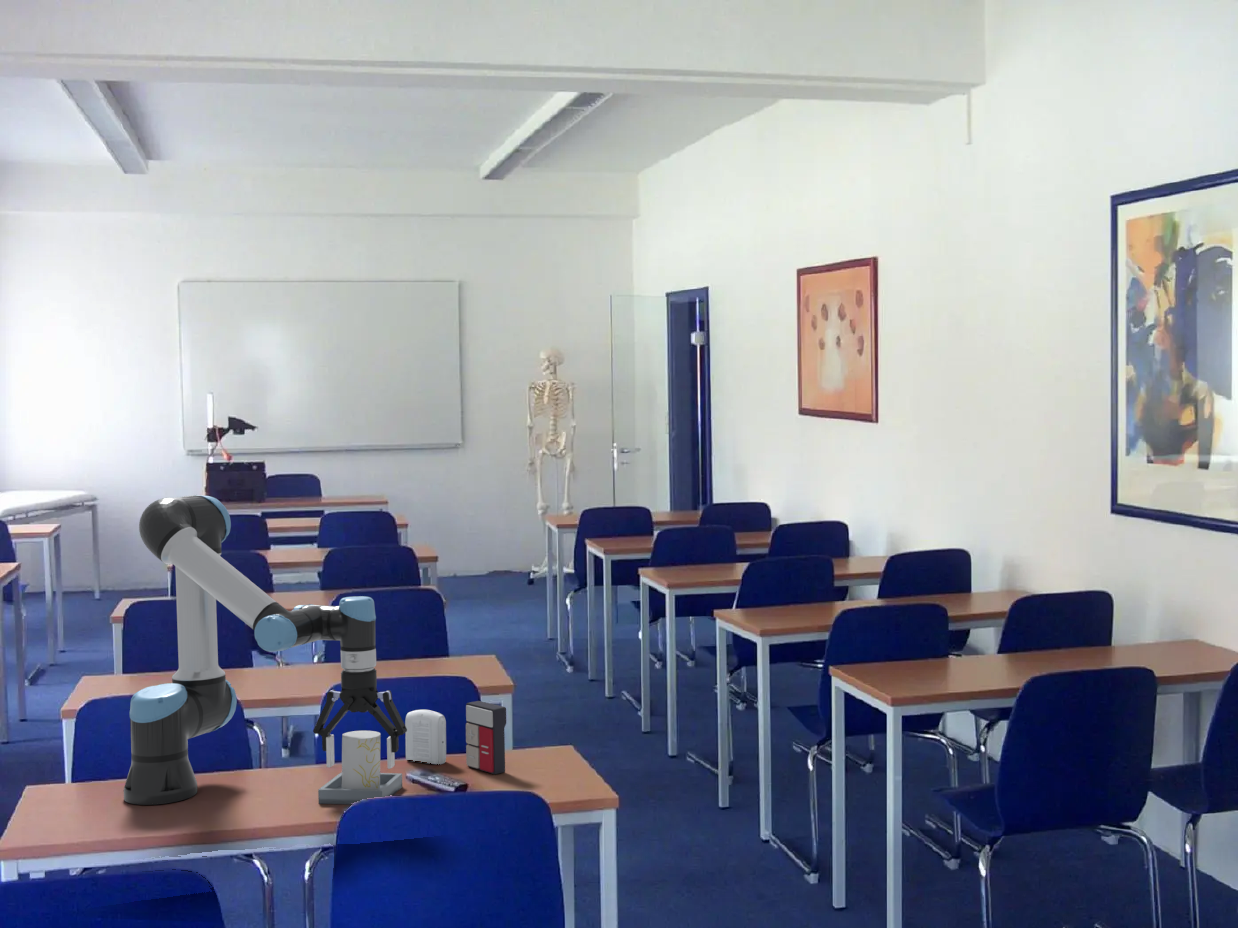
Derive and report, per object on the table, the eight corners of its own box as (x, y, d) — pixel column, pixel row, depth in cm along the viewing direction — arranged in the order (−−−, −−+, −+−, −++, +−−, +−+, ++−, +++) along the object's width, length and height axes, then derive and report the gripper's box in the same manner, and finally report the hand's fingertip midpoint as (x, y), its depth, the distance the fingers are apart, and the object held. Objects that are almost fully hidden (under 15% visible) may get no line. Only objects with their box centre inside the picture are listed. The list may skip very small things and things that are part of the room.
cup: (359, 796, 275) (359, 740, 275) (333, 790, 280) (334, 734, 280) (387, 789, 282) (388, 733, 282) (362, 783, 287) (363, 728, 287)
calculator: (464, 766, 304) (463, 703, 303) (479, 763, 306) (478, 700, 306) (492, 775, 295) (491, 710, 295) (507, 771, 298) (506, 707, 298)
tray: (318, 803, 275) (318, 789, 275) (341, 785, 289) (341, 772, 289) (382, 804, 273) (382, 790, 273) (402, 786, 287) (402, 773, 287)
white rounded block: (449, 761, 309) (448, 709, 308) (439, 765, 305) (438, 713, 305) (413, 757, 313) (412, 706, 313) (403, 761, 309) (401, 710, 309)
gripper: (296, 671, 278) (299, 769, 279) (409, 672, 275) (411, 771, 276) (309, 665, 286) (311, 760, 286) (419, 666, 282) (421, 762, 283)
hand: (360, 766), depth 281 cm, fingers open, 13 cm apart
